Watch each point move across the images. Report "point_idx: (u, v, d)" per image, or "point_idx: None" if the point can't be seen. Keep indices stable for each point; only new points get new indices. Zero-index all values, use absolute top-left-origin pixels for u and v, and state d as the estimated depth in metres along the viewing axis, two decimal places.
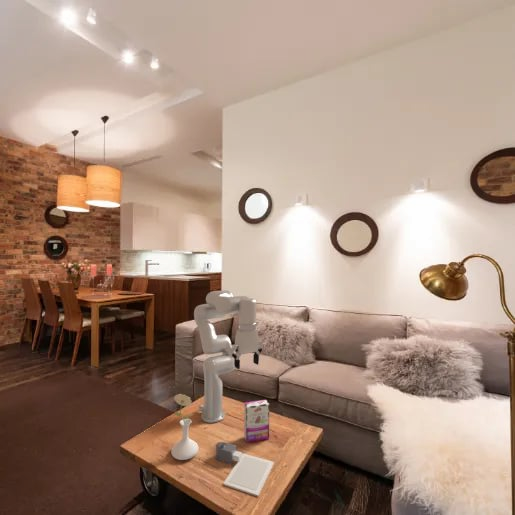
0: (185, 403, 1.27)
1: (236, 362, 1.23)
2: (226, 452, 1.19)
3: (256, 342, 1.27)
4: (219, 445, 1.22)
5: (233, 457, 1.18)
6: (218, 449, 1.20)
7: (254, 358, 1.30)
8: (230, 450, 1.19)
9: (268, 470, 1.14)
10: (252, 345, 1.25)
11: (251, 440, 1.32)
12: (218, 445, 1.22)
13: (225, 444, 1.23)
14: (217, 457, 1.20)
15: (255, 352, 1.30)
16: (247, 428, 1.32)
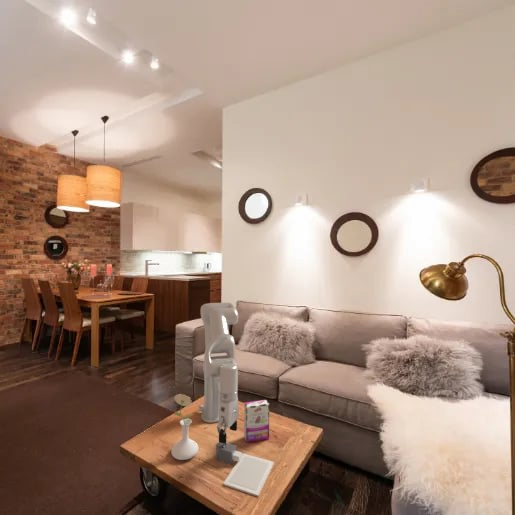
0: (185, 403, 1.27)
1: None
2: (226, 452, 1.19)
3: None
4: (219, 445, 1.22)
5: (233, 457, 1.18)
6: (218, 449, 1.20)
7: None
8: (230, 450, 1.19)
9: (268, 470, 1.14)
10: None
11: (251, 440, 1.32)
12: (218, 445, 1.22)
13: (225, 444, 1.23)
14: (217, 457, 1.20)
15: None
16: (247, 428, 1.32)
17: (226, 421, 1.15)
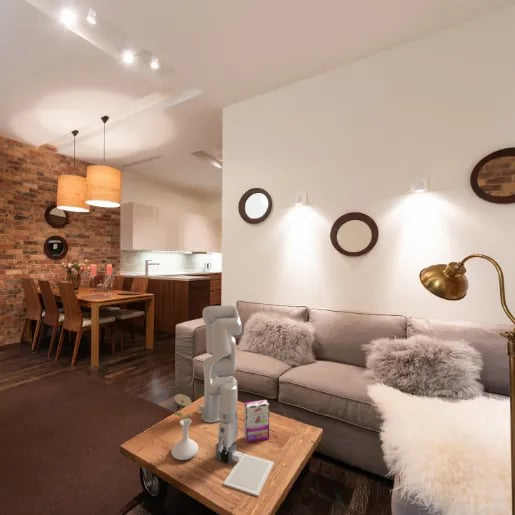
0: (185, 403, 1.27)
1: None
2: None
3: None
4: None
5: (233, 457, 1.18)
6: None
7: None
8: (230, 450, 1.19)
9: (268, 470, 1.14)
10: None
11: (251, 440, 1.32)
12: (218, 445, 1.22)
13: None
14: (217, 457, 1.20)
15: None
16: (247, 428, 1.32)
17: (225, 442, 1.16)
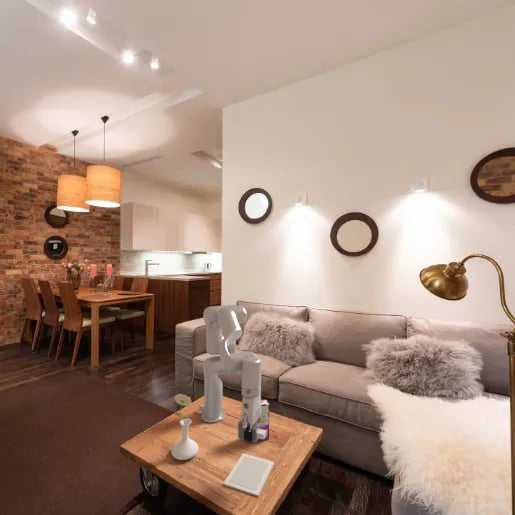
0: (185, 403, 1.27)
1: None
2: None
3: None
4: (242, 423, 1.14)
5: (257, 435, 1.10)
6: (241, 427, 1.12)
7: None
8: (254, 428, 1.11)
9: (268, 470, 1.14)
10: None
11: None
12: (241, 423, 1.14)
13: None
14: (240, 436, 1.12)
15: None
16: None
17: (250, 418, 1.08)
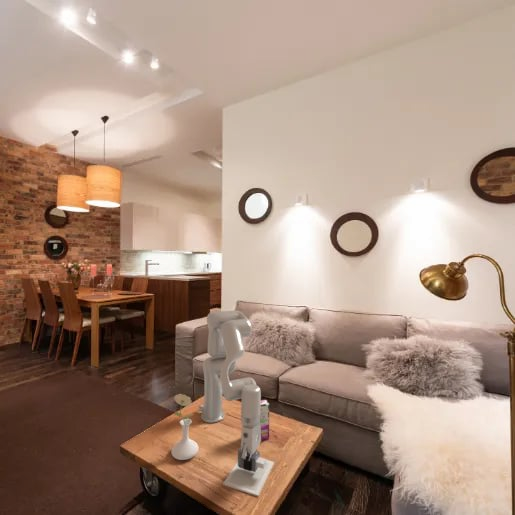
0: (185, 403, 1.27)
1: None
2: None
3: None
4: (241, 451, 1.14)
5: (257, 464, 1.10)
6: (240, 456, 1.12)
7: None
8: (254, 457, 1.11)
9: (268, 470, 1.14)
10: None
11: None
12: (240, 452, 1.14)
13: None
14: (239, 464, 1.12)
15: (248, 457, 1.10)
16: None
17: (249, 448, 1.08)
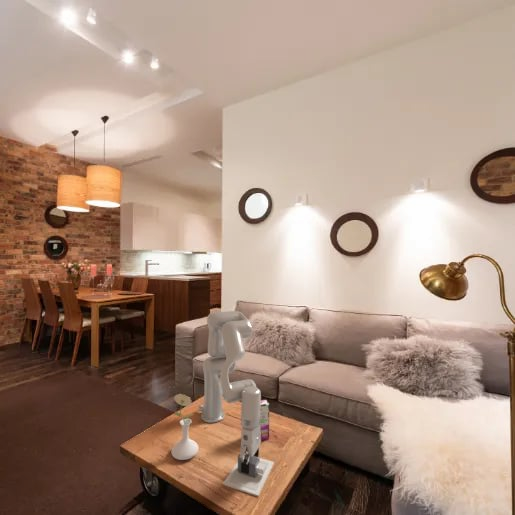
0: (185, 403, 1.27)
1: None
2: (250, 465, 1.11)
3: None
4: None
5: (257, 470, 1.10)
6: (240, 461, 1.12)
7: None
8: (254, 462, 1.11)
9: (268, 470, 1.14)
10: None
11: None
12: None
13: None
14: (239, 470, 1.12)
15: (246, 460, 1.08)
16: None
17: (249, 450, 1.08)
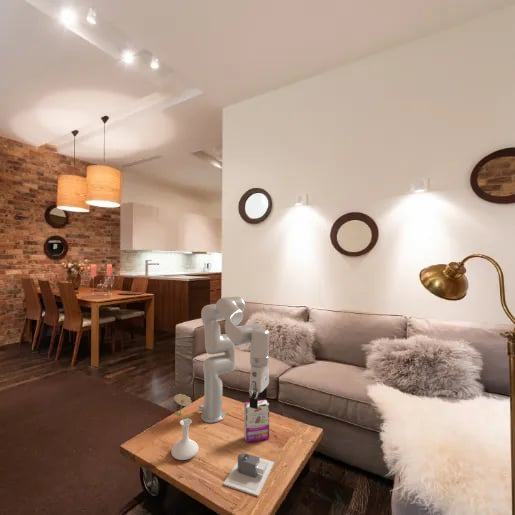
0: (185, 403, 1.27)
1: None
2: (250, 465, 1.11)
3: None
4: (241, 457, 1.14)
5: (257, 470, 1.10)
6: (240, 461, 1.12)
7: None
8: (254, 462, 1.11)
9: (268, 470, 1.14)
10: None
11: (251, 440, 1.32)
12: (240, 457, 1.14)
13: (248, 456, 1.15)
14: (239, 470, 1.12)
15: None
16: (247, 428, 1.32)
17: (258, 386, 1.11)
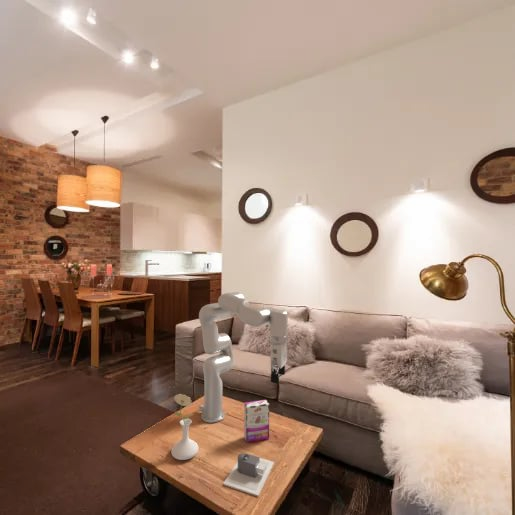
0: (185, 403, 1.27)
1: None
2: (250, 465, 1.11)
3: None
4: (241, 457, 1.14)
5: (257, 470, 1.10)
6: (240, 461, 1.12)
7: None
8: (254, 462, 1.11)
9: (268, 470, 1.14)
10: None
11: (251, 440, 1.32)
12: (240, 457, 1.14)
13: (248, 456, 1.15)
14: (239, 470, 1.12)
15: None
16: (247, 428, 1.32)
17: (278, 362, 1.21)
